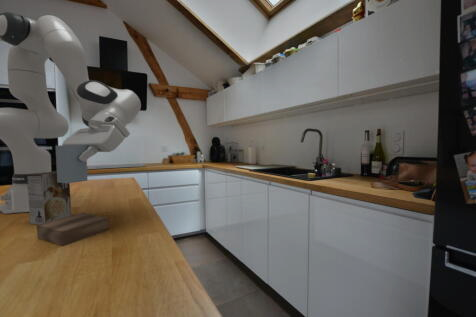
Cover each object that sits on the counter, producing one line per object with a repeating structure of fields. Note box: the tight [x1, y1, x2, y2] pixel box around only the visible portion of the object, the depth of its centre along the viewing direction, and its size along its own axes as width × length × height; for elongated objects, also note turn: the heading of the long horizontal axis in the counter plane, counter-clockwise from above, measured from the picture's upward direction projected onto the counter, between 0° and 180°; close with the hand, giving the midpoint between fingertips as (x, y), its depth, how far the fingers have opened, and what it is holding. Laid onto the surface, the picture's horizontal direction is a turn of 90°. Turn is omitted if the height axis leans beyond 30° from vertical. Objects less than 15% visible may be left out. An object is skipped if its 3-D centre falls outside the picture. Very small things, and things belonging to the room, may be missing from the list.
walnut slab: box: [36, 212, 110, 247], centre depth 64 cm, size 12×12×4 cm
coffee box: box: [27, 170, 72, 225], centre depth 76 cm, size 9×6×16 cm
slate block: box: [55, 145, 89, 184], centre depth 63 cm, size 5×5×10 cm
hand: (73, 160), depth 63 cm, fingers closed on slate block, 5 cm apart
